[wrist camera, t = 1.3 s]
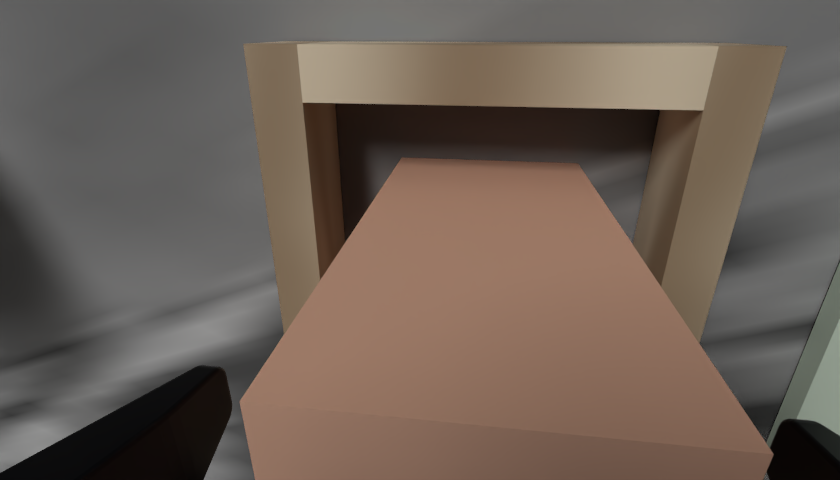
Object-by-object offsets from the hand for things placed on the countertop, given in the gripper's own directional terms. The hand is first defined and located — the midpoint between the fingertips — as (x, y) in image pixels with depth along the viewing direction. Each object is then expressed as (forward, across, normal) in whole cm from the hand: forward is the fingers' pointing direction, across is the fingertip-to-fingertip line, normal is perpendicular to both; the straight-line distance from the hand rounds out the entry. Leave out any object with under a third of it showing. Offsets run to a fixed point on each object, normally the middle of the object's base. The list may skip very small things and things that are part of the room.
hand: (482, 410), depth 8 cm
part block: (+5, 0, 0) cm, 5 cm away
